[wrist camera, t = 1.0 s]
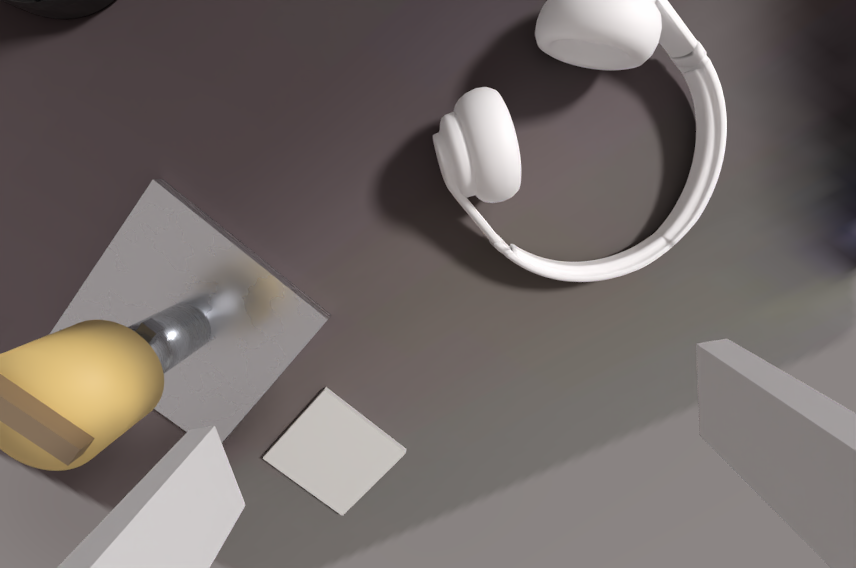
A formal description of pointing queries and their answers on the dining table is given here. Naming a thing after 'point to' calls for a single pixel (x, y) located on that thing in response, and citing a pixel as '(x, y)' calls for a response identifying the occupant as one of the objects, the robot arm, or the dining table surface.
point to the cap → (75, 393)
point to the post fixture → (198, 309)
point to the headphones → (603, 50)
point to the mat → (334, 452)
